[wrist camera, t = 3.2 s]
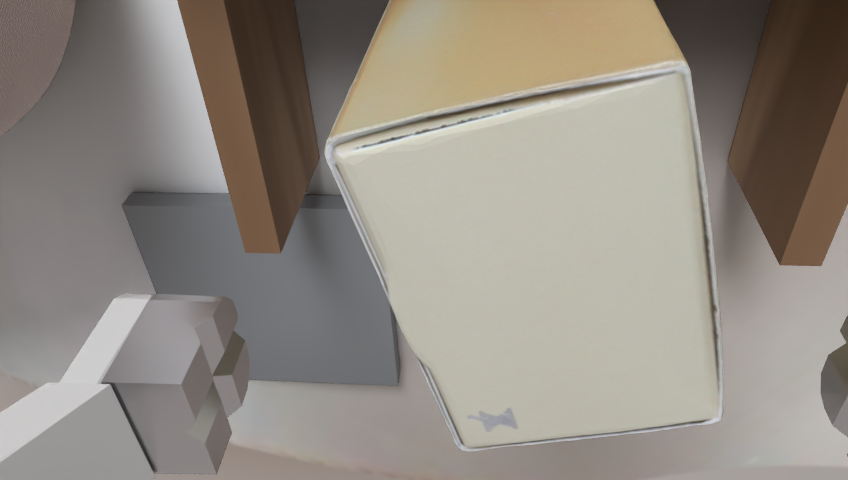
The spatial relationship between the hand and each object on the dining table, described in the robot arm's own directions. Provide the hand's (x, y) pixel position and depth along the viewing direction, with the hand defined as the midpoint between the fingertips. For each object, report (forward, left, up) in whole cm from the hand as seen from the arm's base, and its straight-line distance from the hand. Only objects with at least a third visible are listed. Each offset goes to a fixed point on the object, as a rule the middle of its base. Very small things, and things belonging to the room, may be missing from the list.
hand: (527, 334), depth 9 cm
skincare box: (0, 0, -13) cm, 12 cm away
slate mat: (+9, +11, -12) cm, 18 cm away
